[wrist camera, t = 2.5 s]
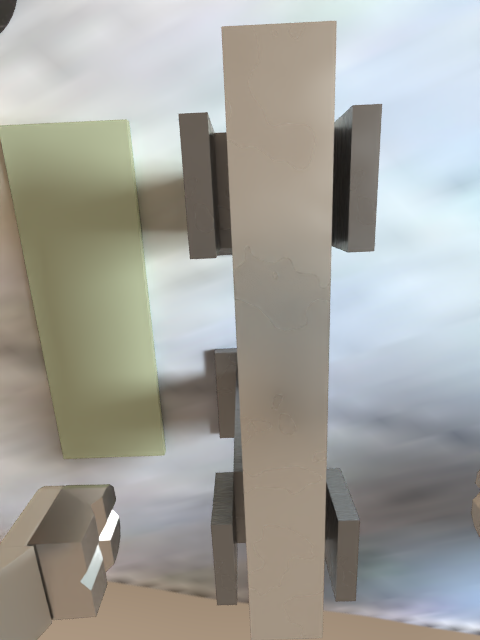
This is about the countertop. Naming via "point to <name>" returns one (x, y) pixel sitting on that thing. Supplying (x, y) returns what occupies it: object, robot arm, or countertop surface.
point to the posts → (207, 242)
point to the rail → (282, 307)
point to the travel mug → (6, 12)
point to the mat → (88, 283)
